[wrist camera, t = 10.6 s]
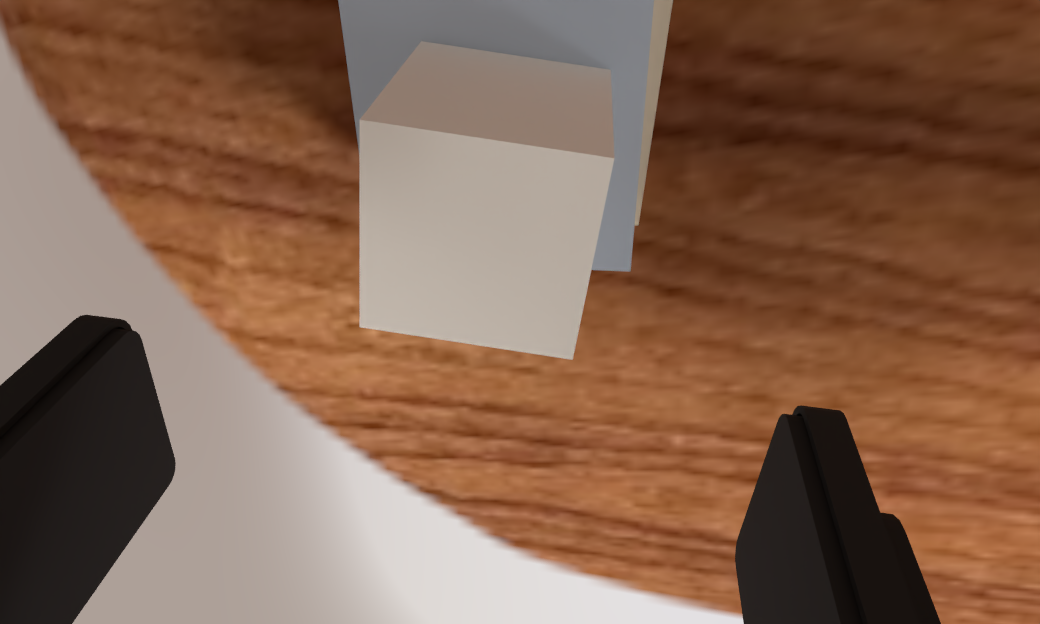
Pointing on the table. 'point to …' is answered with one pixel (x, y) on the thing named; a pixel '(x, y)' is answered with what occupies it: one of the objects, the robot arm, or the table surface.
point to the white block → (483, 198)
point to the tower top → (530, 33)
